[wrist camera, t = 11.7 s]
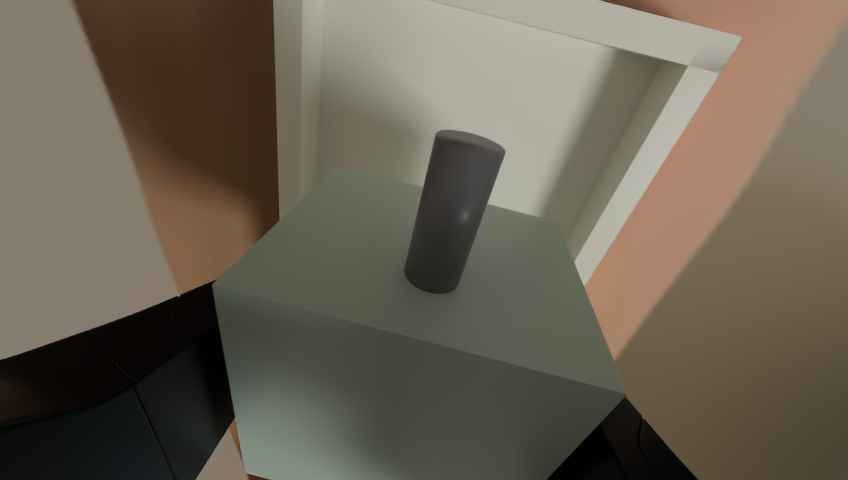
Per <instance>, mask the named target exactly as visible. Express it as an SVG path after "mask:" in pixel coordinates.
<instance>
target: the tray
mask: <svg viewBox="0 0 848 480" xmlns="http://www.w3.org/2000/svg"><path fill="white" fill-rule="evenodd" d="M273 9H274V44H275V79H276V113H277V148H278V183H279V217H280V220H281V219H282V218H283V217H284V216H285V215H286V214H287V213H288V212H289V211H290V210H291V209H292V208H293V207H295V206H296V205H297V204H298V203H299V202H300V201H301V200H302V199H303V198H304V197H305V196H306V195H307V194H308V193H309V192H310V191H311V190H312V189H314V188H315V187H316V186H317V185H318V184H319V183H320V182H321V181H322V180H323V179H324V178H325V177H326V176H327V175H328V174H329V173H330V172H331V171H333V170H334V169H335V168H336V167H337V166H338V165H340V166H344V167H348V168H352V169H356V170H360V171H363V172H367V173H371V174H375V175H379V176H383V177H386V178H390V179H394V180H398V181H402V182H406V183H409V184H413V185H417V186H421V187H423V186H424V181H425V177H426V173H427V169H428V164H429V160H430V156H431V151H432V147H433V143H434V138H435V134H436V132H438V131H441V130H457V131H464V132H468V133H472V134H476V135H479V136H482V137H485V138H487V139H490V140H492V141H494V142H496V143H497V144H499V145H500V146H502V147H503V148H504V149H505V151H506V153H505V156H504V159H503V162H502V164H501V167H500V170H499V173H498V176H497V178H496V181H495V184H494V187H493V189H492V192H491V195H490V198H489V201H488V203H487V204H490V205H494V206H498V207H501V208H505V209H509V210H513V211H517V212H521V213H524V214H528V215H532V216H536V217H540V218H544V219H547V220H551V221H555V222H558V223H559V226H560V228H561V231H562V233H563V236H564V238H565V241H566V243H567V246H568V248H569V251H570V253H571V256H572V258H573V261H574V263H575V266H576V268H577V271H578V273H579V275H580V278H581V280H582V283H583V285H584V286H585V285H586V283H587V282H588V280H589V278H590V277H591V275H592V274H593V272H594V271H595V269H596V267H597V266H598V264H599V263H600V261H601V259H602V258H603V256H604V255H605V253H606V252H607V250H608V248H609V247H610V245H611V244H612V242H613V241H614V239H615V237H616V236H617V234H618V233H619V231H620V230H621V228H622V226H623V225H624V223H625V222H626V220H627V219H628V217H629V215H630V214H631V212H632V211H633V209H634V208H635V206H636V204H637V203H638V201H639V200H640V198H641V197H642V195H643V193H644V192H645V190H646V189H647V187H648V186H649V184H650V182H651V181H652V179H653V178H654V176H655V175H656V173H657V171H658V170H659V168H660V167H661V165H662V164H663V162H664V160H665V159H666V157H667V156H668V154H669V153H670V151H671V149H672V148H673V146H674V145H675V143H676V142H677V140H678V138H679V137H680V135H681V134H682V132H683V131H684V129H685V127H686V126H687V124H688V123H689V121H690V120H691V118H692V116H693V115H694V113H695V112H696V110H697V109H698V107H699V105H700V104H701V102H702V101H703V99H704V97H705V96H706V94H707V93H708V91H709V90H710V88H711V86H712V85H713V83H714V82H715V80H716V79H717V77H718V75H719V74H720V72H721V71H722V69H723V68H724V66H725V64H726V63H727V61H728V60H729V58H730V57H731V55H732V53H733V52H734V50H735V49H736V47H737V46H738V44H739V42H740V41H741V39H742V38H743V37H740V36H736V35H733V34H729V33H725V32H721V31H717V30H713V29H709V28H705V27H701V26H697V25H694V24H690V23H686V22H682V21H678V20H674V19H670V18H666V17H662V16H659V15H655V14H651V13H647V12H643V11H639V10H635V9H631V8H627V7H623V6H620V5H616V4H612V3H608V2H604V1H600V0H273Z"/></svg>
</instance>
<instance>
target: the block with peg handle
mask: <svg viewBox="0 0 848 480" xmlns="http://www.w3.org/2000/svg"><path fill="white" fill-rule="evenodd" d="M505 153H506V151H505V149H504V148H503V147H502V146H500V145H499V144H497V143H496V142H494V141H492V140H490V139H487V138H485V137H482V136H479V135H476V134H472V133H468V132H464V131H457V130H441V131H438V132H436V134H435V138H434V143H433V147H432V151H431V156H430V160H429V164H428V169H427V173H426V177H425V181H424V186H423V187H421V186H417V185H413V184H409V183H406V182H402V181H398V180H394V179H390V178H386V177H383V176H379V175H375V174H371V173H367V172H363V171H360V170H356V169H352V168H348V167H344V166H340V165H338V166H337V167H336V168H335V169H334V170H333V171H331V172H330V173H329V174H328V175H327V176H326V177H325V178H324V179H323V180H322V181H321V182H320V183H319V184H318V185H317V186H316V187H315V188H314V189H312V190H311V191H310V192H309V193H308V194H307V195H306V196H305V197H304V198H303V199H302V200H301V201H300V202H299V203H298V204H297V205H296V206H295V207H293V208H292V209H291V210H290V211H289V212H288V213H287V214H286V215H285V216H284V217H283V218H282V219H281V220H280V221H279V222H278V223H277V224H276V225H274V226H273V227H272V228H271V229H270V230H269V231H268V232H267V233H266V234H265V235H264V236H263V237H262V238H261V239H260V240H259V241H258V242H257V243H255V244H254V245H253V246H252V247H251V248H250V249H249V250H248V251H247V252H246V253H245V254H244V255H243V256H242V257H241V258H240V259H239V260H238V261H236V262H235V263H234V264H233V265H232V266H231V267H230V268H229V269H228V270H227V271H226V272H225V273H224V274H223V275H222V276H221V277H220V278H219V279H217V280H216V281H215V282H214V283H213V284H212V289H213V295H214V300H215V306H216V311H217V317H218V323H219V328H220V334H221V340H222V345H223V351H224V357H225V362H226V368H227V374H228V379H229V385H230V391H231V396H232V402H233V408H234V413H235V419H236V425H237V430H238V436H239V441H240V447H241V453H242V458H243V464H244V470H245V473H247V474H251V475H255V476H258V477H262V478H266V479H270V480H546V479H547V478H548V477H549V476H550V475H551V474H552V473H553V472H554V471H555V470H556V469H557V468H558V467H559V466H560V465H561V464H562V463H563V462H564V460H565V459H566V458H567V457H568V456H569V455H570V454H571V453H572V452H573V451H574V450H575V449H576V448H577V447H578V446H579V445H580V444H581V443H582V442H583V440H584V439H585V438H586V437H587V436H588V435H589V434H590V433H591V432H592V431H593V430H594V429H595V428H596V427H597V426H598V425H599V424H600V423H601V422H602V420H603V419H604V418H605V417H606V416H607V415H608V414H609V413H610V412H611V411H612V410H613V409H614V408H615V407H616V406H617V405H618V404H619V403H620V402H621V400H622V399H623V398H624V397H625V396H626V395H627V392H626V390H625V387H624V385H623V382H622V380H621V377H620V375H619V372H618V370H617V367H616V365H615V362H614V360H613V357H612V355H611V352H610V350H609V347H608V345H607V342H606V340H605V338H604V335H603V333H602V330H601V328H600V325H599V323H598V320H597V318H596V315H595V313H594V310H593V308H592V305H591V303H590V300H589V298H588V295H587V293H586V290H585V288H584V285H583V283H582V280H581V278H580V275H579V273H578V271H577V268H576V266H575V263H574V261H573V258H572V256H571V253H570V251H569V248H568V246H567V243H566V241H565V238H564V236H563V233H562V231H561V228H560V226H559V223H558V222H555V221H551V220H547V219H544V218H540V217H536V216H532V215H528V214H524V213H521V212H517V211H513V210H509V209H505V208H501V207H498V206H494V205H490V204H487V203H488V201H489V198H490V195H491V192H492V189H493V187H494V184H495V181H496V178H497V176H498V173H499V170H500V167H501V164H502V162H503V159H504V156H505Z"/></svg>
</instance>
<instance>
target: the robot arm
mask: <svg viewBox="0 0 848 480" xmlns="http://www.w3.org/2000/svg"><path fill="white" fill-rule="evenodd" d="M215 281H216V280H214V281H212V282H209V283H207V284H205V285H202V286H200V287H198V288H195V289H193V290H190V291H188V292H186V293H183V294H181V295H180V297H178V296H176V297H174V298H171V299H169V300H166V301H164V302H162V303H159V304H157V305H154V306H152V307H149V308H147V309H145V310H142V311H139V312H137V313H134V314H132V315H129V316H126V317H124V318H121V319H118V320H115V321H113V322H110V323H107V324H104V325H102V326H99V327H96V328H93V329H90V330H87V331H84V332H82V333H79V334H76V335H73V336H70V337H67V338H65V339H61V340H59V341H56V342H53V343H50V344H47V345H44V346H41V347H38V348H36V349H33V350H30V351H27V352H24V353H21V354H18V355H15V356H12V357H9V358H6V359H1V360H0V480H196V478H197V476H198V475H199V473H200V472H201V470H202V469H203V467H204V465H205V464H206V462H207V461H208V459H209V458H210V456H211V454H212V453H213V451H214V450H215V448H216V446H217V445H218V443H219V442H220V440H221V439H222V437H223V435H224V434H225V432H226V431H227V429H228V428H229V426H230V424H231V423H232V421H233V420H234V418H235V413H234V408H233V402H232V396H231V391H230V385H229V379H228V374H227V368H226V362H225V357H224V351H223V345H222V340H221V334H220V328H219V323H218V317H217V311H216V306H215V300H214V295H213V289H212V284H213V283H214V282H215ZM546 480H698V479H697V478H696V477H695V476H694V475H693V474H692V472H691V471H690V470H689V469H688V468H687V467H686V466H685V465H684V464H683V463H682V462H681V461H680V459H679V458H678V457H677V456H676V455H675V454H674V453H673V451H671V449H670V448H669V447H668V446H667V445H666V443H664V441H663V440H662V439H661V438H660V437H659V435H658V434H657V433H656V432H655V431H654V430H653V428H652V427H651V426H650V425H649V424H648V423H647V421H646V420H645V419H642V415H641V414H640V413H639V412H638V411H637V410H636V408H635V407H634V406H633V405H632V404H631V403H630V401H629V400H628V399H627V398H626V396H625V397H624V398H623V399H622V400H621V402H620V403H619V404H618V405H617V406H616V407H615V408H614V409H613V410H612V411H611V412H610V413H609V414H608V415H607V416H606V417H605V418H604V419H603V420H602V422H601V423H600V424H599V425H598V426H597V427H596V428H595V429H594V430H593V431H592V432H591V433H590V434H589V435H588V436H587V437H586V438H585V439H584V440H583V442H582V443H581V444H580V445H579V446H578V447H577V448H576V449H575V450H574V451H573V452H572V453H571V454H570V455H569V456H568V457H567V458H566V459H565V460H564V462H563V463H562V464H561V465H560V466H559V467H558V468H557V469H556V470H555V471H554V472H553V473H552V474H551V475H550V476H549V477H548V478H547V479H546Z"/></svg>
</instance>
